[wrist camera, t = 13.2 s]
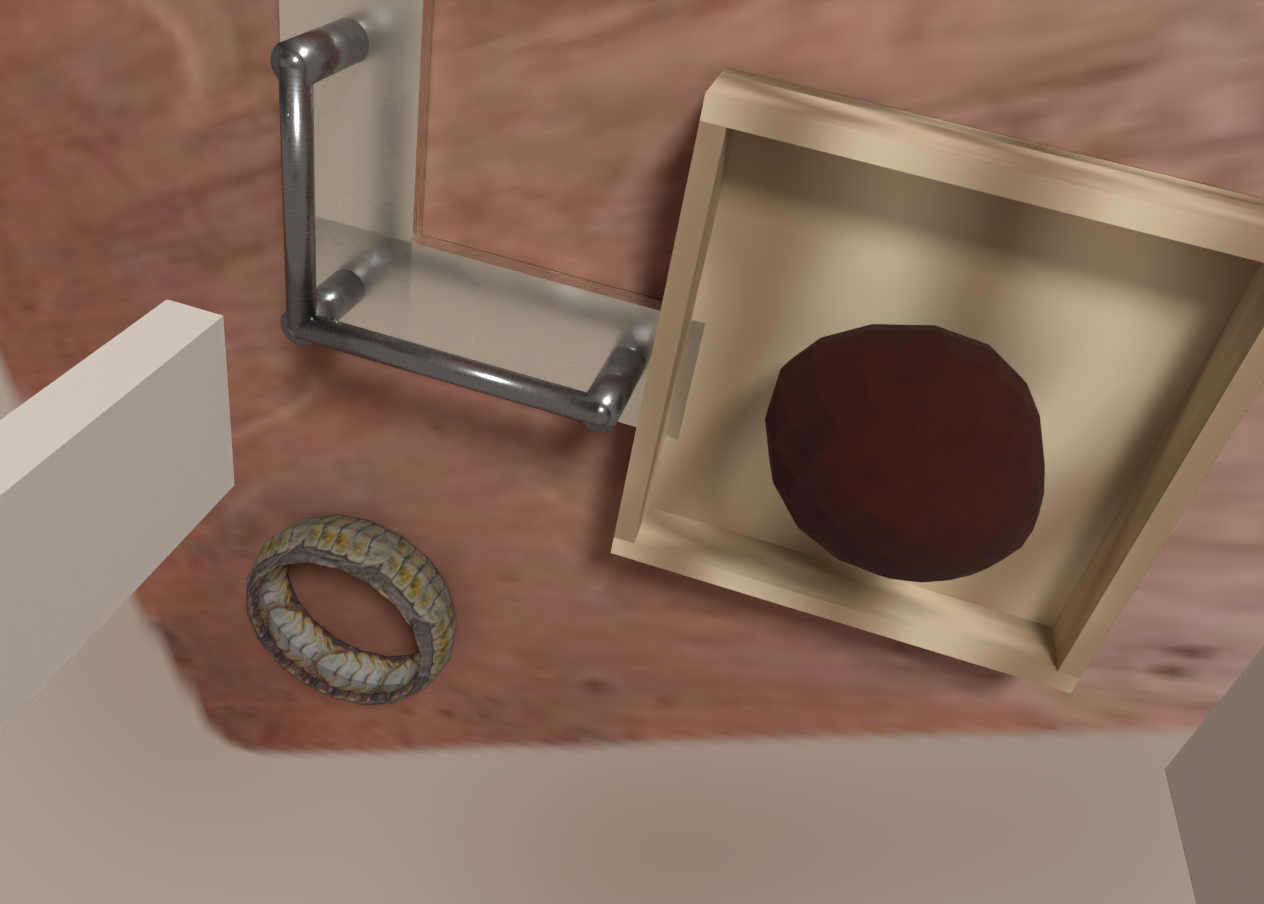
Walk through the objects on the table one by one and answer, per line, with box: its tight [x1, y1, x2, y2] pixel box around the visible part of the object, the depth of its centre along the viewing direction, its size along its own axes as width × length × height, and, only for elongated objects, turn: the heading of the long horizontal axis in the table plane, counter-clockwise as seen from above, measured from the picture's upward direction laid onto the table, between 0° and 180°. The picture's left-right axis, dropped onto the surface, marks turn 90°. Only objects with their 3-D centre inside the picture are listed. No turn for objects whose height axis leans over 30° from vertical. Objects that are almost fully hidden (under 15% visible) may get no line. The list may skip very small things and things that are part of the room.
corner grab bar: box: [271, 0, 705, 437], centre depth 34 cm, size 16×14×5 cm
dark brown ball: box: [765, 324, 1045, 583], centre depth 32 cm, size 8×9×8 cm
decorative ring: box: [246, 515, 457, 705], centre depth 48 cm, size 10×3×10 cm
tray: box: [611, 67, 1264, 693], centre depth 35 cm, size 18×18×3 cm
